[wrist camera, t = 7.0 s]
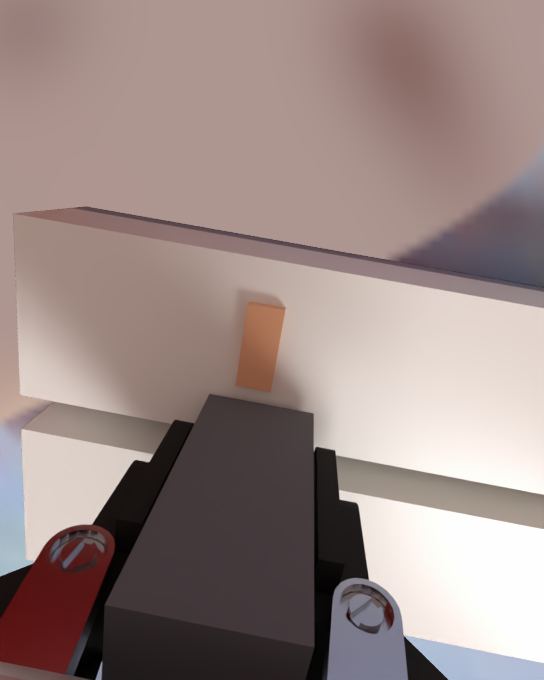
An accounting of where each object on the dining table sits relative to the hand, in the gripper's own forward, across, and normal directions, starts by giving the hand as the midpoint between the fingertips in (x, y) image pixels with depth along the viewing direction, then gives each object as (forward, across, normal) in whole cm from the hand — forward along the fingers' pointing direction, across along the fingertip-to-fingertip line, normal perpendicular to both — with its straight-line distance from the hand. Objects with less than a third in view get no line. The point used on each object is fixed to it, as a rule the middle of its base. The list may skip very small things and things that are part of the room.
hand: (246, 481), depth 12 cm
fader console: (+5, -6, 0) cm, 8 cm away
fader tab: (+4, 0, 0) cm, 4 cm away
